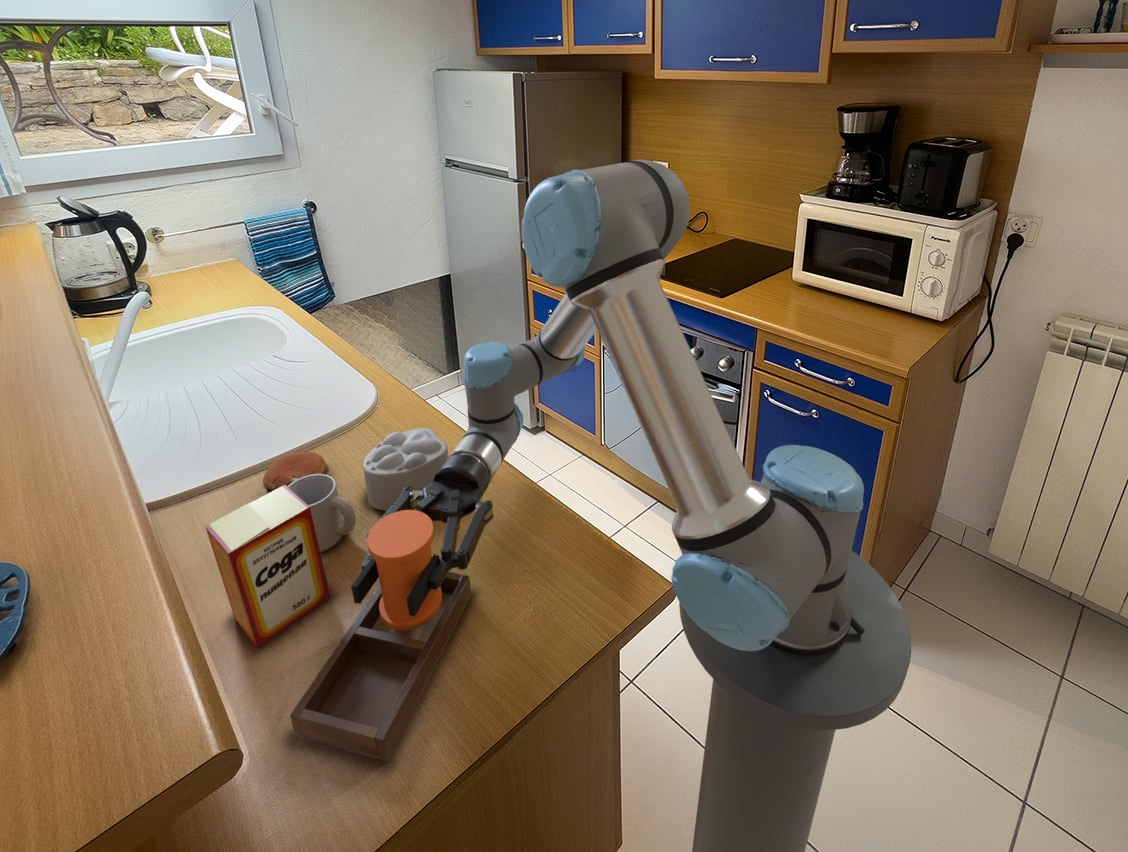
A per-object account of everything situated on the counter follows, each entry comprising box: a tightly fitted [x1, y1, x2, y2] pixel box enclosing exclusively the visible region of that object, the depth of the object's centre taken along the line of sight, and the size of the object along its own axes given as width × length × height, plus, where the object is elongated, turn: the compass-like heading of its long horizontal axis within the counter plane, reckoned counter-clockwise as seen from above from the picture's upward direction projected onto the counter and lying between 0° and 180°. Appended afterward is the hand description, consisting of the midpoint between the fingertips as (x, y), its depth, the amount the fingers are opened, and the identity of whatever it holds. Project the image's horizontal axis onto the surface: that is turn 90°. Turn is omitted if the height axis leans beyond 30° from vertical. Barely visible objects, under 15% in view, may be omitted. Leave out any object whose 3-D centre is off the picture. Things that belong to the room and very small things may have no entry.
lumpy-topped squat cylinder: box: [362, 427, 449, 512], centre depth 99 cm, size 10×13×9 cm
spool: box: [366, 509, 442, 631], centre depth 74 cm, size 8×8×12 cm
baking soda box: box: [205, 485, 331, 649], centre depth 76 cm, size 10×6×16 cm
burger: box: [262, 451, 330, 494], centre depth 100 cm, size 10×9×5 cm
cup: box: [287, 474, 357, 553], centre depth 89 cm, size 7×10×9 cm
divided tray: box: [289, 571, 472, 763], centre depth 72 cm, size 11×21×4 cm, turn 167°
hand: (383, 601), depth 69 cm, fingers closed on spool, 6 cm apart
